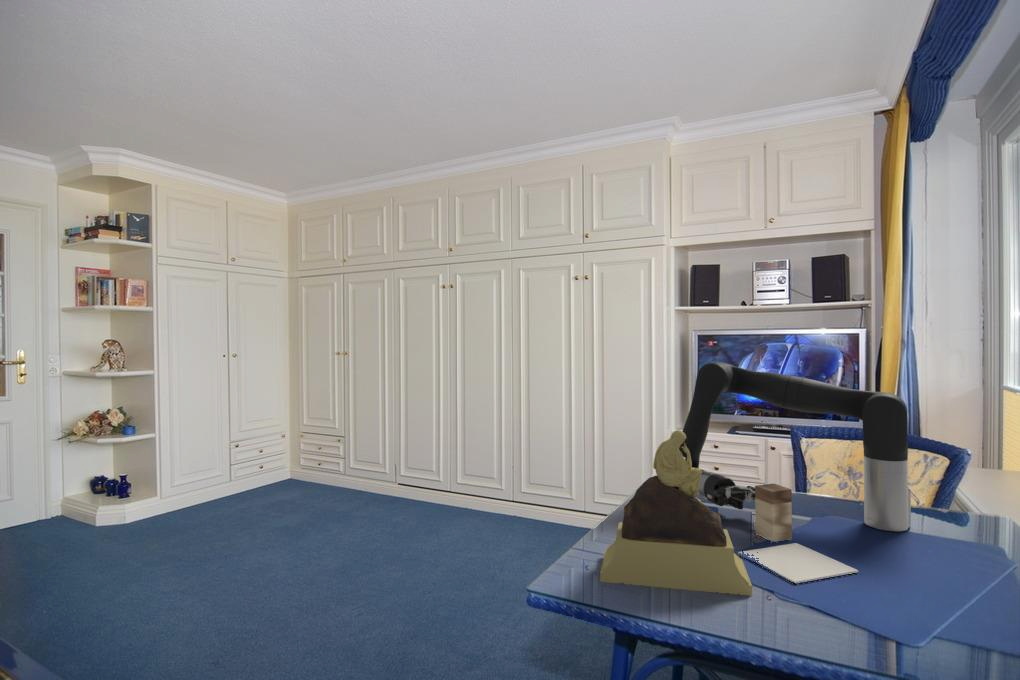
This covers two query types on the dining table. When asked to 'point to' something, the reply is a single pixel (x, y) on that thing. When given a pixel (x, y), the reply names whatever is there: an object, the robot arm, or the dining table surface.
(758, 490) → the two-tone block
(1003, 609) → the dining table surface
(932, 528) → the dining table surface
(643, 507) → the seated figure statue
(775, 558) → the off-white mat
